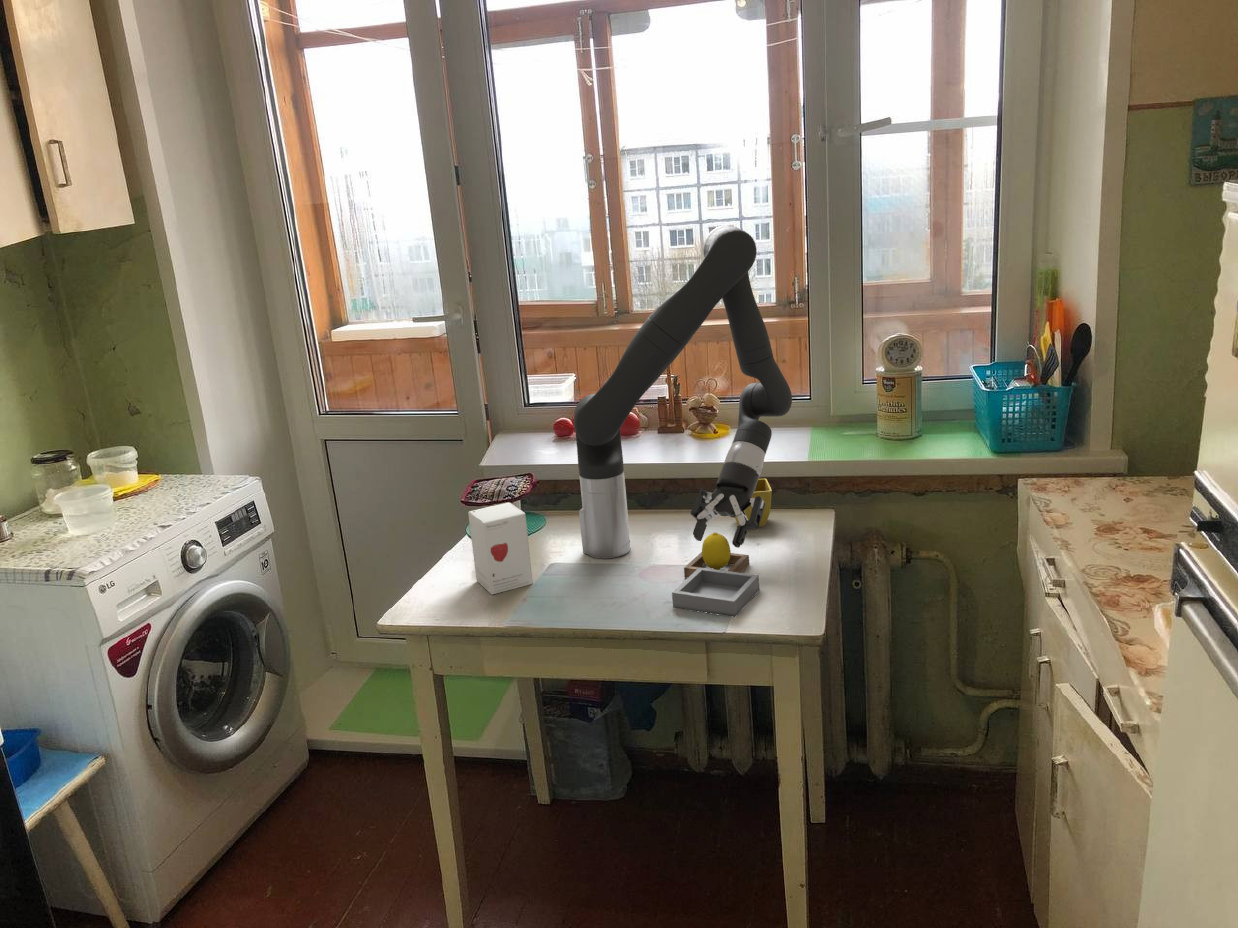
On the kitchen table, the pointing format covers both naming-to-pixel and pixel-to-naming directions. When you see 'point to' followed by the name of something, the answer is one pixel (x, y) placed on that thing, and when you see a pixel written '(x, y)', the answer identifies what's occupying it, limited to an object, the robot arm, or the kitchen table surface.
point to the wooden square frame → (735, 559)
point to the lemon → (716, 551)
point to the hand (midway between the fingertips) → (716, 542)
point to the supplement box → (500, 547)
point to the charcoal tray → (716, 592)
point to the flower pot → (765, 493)
